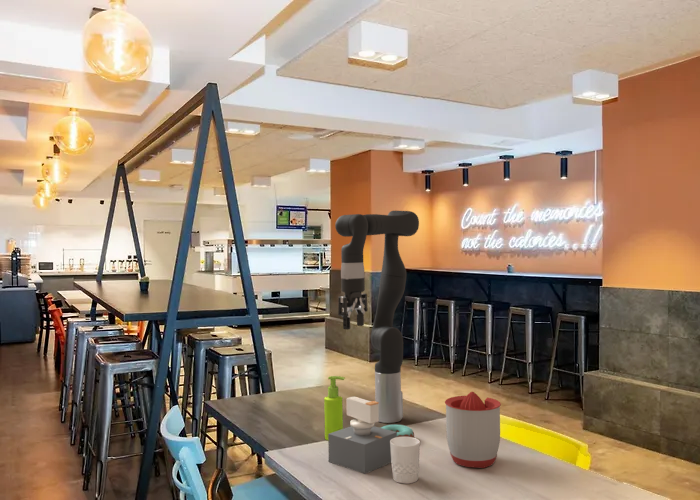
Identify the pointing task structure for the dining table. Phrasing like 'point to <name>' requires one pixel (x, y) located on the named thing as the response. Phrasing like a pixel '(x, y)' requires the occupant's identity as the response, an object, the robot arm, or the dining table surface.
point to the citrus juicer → (473, 430)
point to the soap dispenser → (333, 408)
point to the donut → (400, 430)
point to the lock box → (360, 448)
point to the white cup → (405, 459)
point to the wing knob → (362, 412)
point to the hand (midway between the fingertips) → (353, 327)
